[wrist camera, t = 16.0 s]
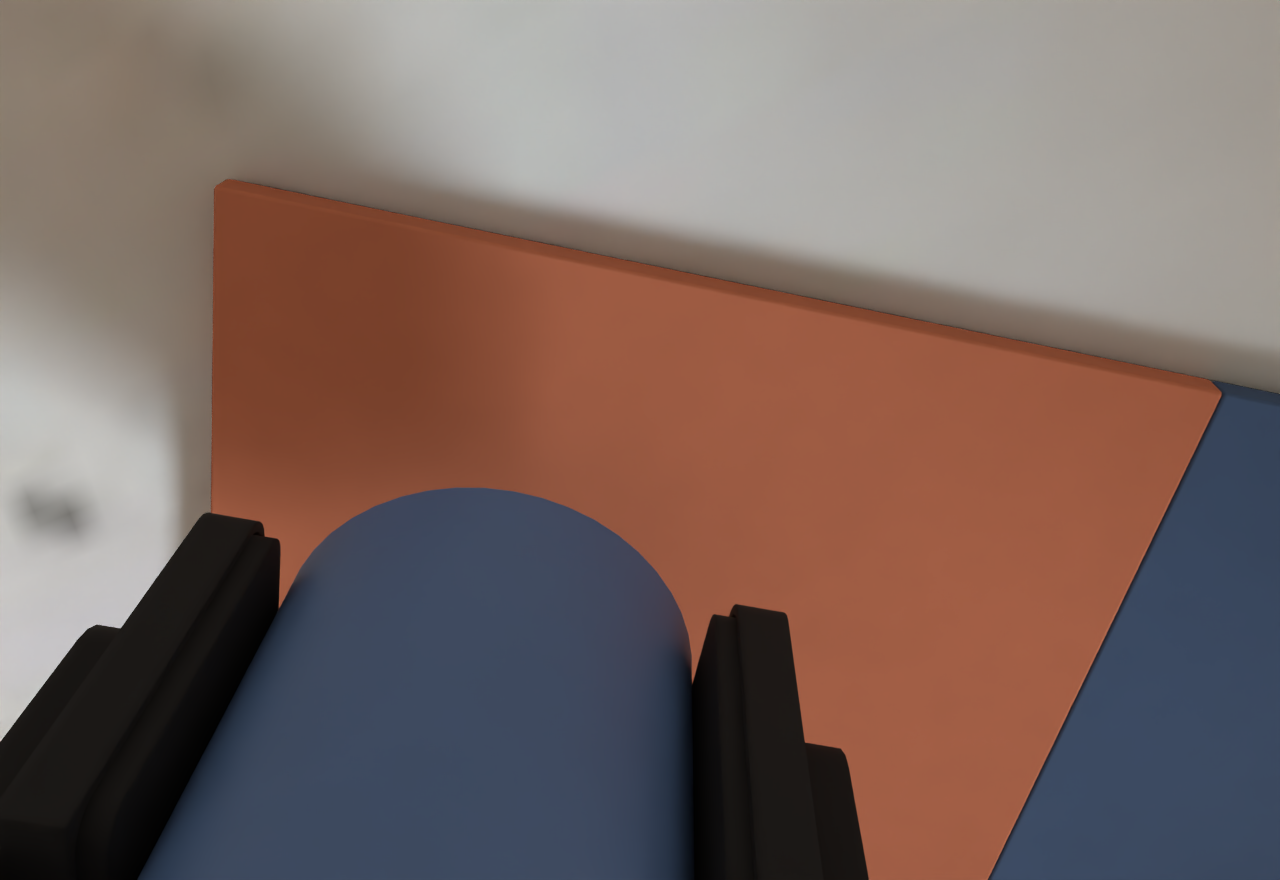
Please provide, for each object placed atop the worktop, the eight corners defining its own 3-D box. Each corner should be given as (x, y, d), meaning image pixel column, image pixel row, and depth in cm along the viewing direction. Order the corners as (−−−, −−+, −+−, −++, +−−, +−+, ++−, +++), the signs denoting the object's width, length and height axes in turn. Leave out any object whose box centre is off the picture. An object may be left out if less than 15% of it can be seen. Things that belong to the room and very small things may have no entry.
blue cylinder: (278, 772, 13) (65, 1262, 8) (290, 449, 11) (14, 877, 6) (649, 830, 13) (632, 1337, 9) (733, 527, 11) (767, 992, 6)
